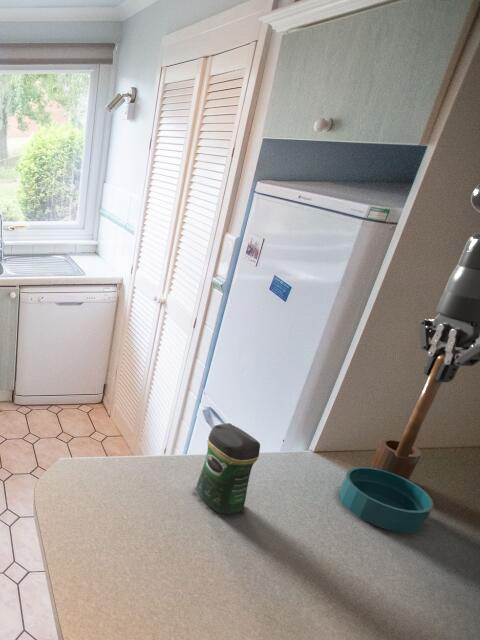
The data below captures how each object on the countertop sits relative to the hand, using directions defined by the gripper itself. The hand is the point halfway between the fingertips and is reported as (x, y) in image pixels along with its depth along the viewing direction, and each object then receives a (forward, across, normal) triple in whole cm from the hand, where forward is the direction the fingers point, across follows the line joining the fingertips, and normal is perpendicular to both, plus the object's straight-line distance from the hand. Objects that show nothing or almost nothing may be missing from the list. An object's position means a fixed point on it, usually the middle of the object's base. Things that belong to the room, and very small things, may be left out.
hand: (436, 377), depth 87 cm
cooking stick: (+19, 0, 0) cm, 19 cm away
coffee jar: (+33, +1, +34) cm, 47 cm away
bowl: (+33, 0, 0) cm, 33 cm away
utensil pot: (+33, +11, -10) cm, 36 cm away
